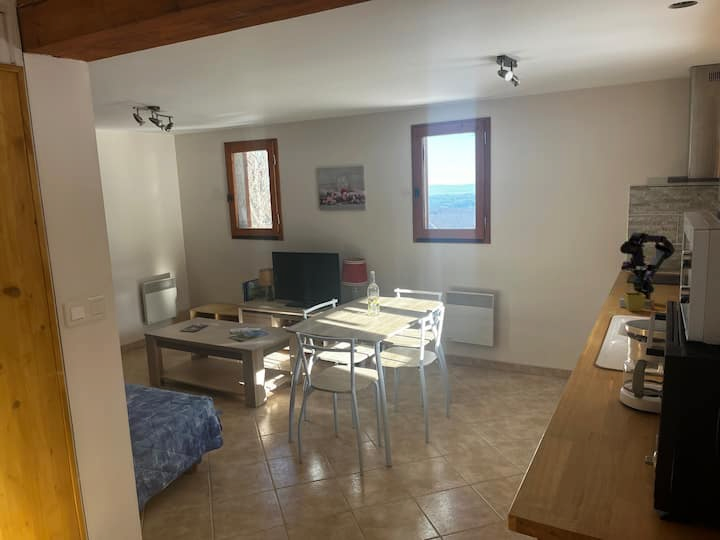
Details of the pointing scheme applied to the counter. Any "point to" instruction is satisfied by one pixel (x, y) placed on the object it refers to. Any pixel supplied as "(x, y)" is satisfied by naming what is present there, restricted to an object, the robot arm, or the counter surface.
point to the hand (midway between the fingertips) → (641, 282)
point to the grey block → (622, 303)
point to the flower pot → (634, 301)
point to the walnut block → (648, 304)
